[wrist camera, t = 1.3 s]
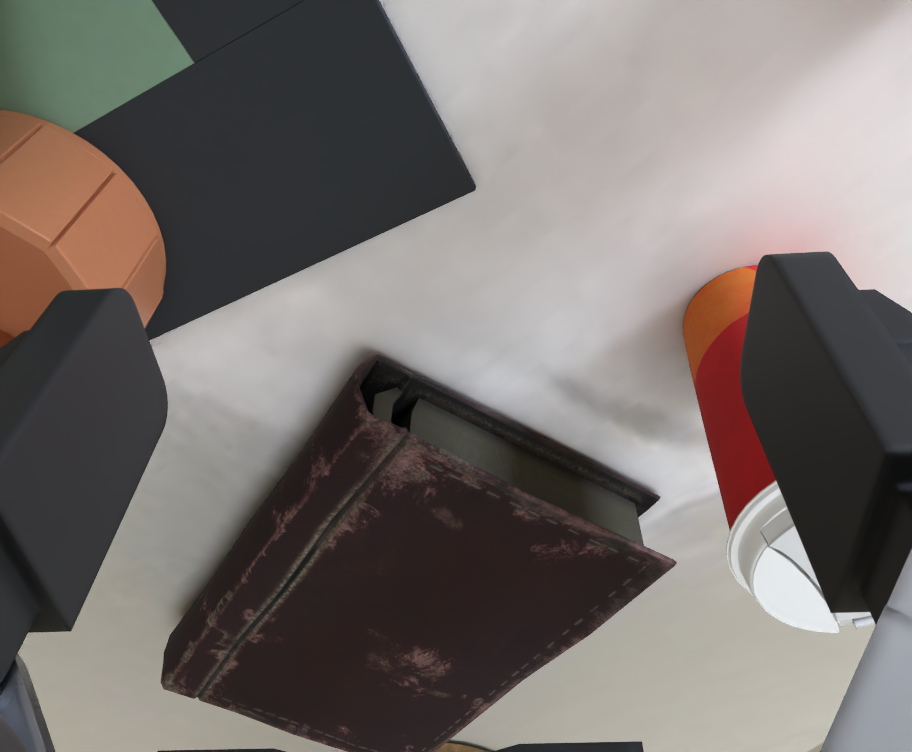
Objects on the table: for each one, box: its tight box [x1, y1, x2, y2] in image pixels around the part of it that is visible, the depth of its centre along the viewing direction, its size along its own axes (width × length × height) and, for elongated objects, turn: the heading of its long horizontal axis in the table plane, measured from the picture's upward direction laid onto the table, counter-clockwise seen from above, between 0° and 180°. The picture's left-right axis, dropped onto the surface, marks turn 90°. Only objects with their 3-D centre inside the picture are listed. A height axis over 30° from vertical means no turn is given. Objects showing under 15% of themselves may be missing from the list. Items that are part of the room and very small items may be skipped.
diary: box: [161, 355, 676, 752], centre depth 45 cm, size 19×25×5 cm
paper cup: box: [683, 266, 875, 633], centre depth 31 cm, size 8×8×14 cm
